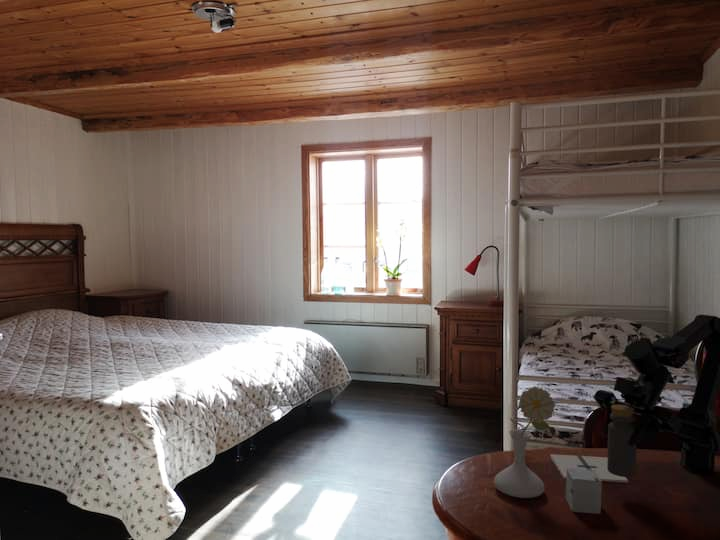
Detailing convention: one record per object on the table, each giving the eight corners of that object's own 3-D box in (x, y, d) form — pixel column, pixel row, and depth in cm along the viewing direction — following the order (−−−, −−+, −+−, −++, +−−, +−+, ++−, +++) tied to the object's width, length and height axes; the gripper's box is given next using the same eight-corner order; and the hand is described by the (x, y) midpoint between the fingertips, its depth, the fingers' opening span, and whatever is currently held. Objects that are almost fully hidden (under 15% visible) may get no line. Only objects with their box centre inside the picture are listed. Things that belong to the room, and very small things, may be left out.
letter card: (607, 459, 142) (607, 457, 142) (628, 482, 128) (628, 480, 128) (550, 456, 143) (550, 454, 143) (563, 479, 130) (564, 476, 130)
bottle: (639, 478, 117) (640, 411, 117) (610, 476, 119) (612, 410, 118) (631, 468, 123) (632, 404, 123) (604, 465, 124) (605, 402, 124)
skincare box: (564, 498, 120) (565, 467, 119) (593, 501, 119) (594, 468, 118) (571, 512, 114) (572, 478, 113) (601, 514, 113) (602, 480, 112)
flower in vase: (490, 497, 120) (492, 388, 118) (496, 477, 130) (499, 377, 129) (551, 509, 115) (554, 395, 114) (553, 486, 125) (556, 383, 124)
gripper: (599, 357, 130) (567, 407, 125) (675, 373, 113) (642, 432, 109) (618, 384, 134) (588, 434, 129) (695, 404, 118) (663, 462, 113)
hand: (618, 440), depth 120 cm, fingers closed on bottle, 6 cm apart
